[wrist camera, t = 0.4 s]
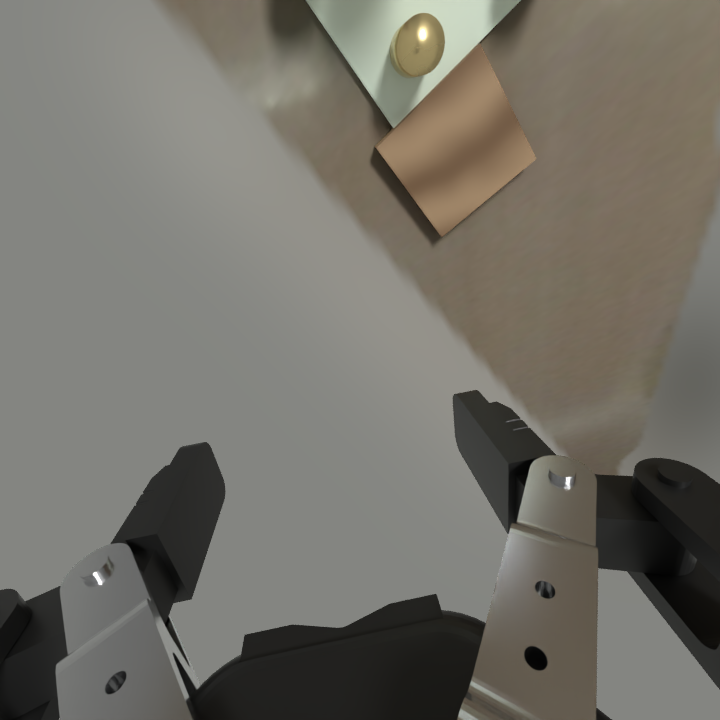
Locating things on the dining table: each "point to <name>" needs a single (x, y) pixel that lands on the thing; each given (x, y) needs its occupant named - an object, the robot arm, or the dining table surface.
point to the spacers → (417, 46)
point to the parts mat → (375, 32)
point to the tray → (458, 144)
